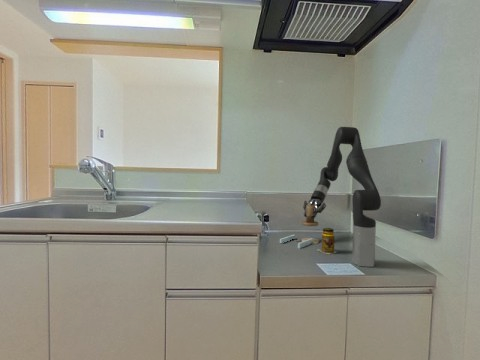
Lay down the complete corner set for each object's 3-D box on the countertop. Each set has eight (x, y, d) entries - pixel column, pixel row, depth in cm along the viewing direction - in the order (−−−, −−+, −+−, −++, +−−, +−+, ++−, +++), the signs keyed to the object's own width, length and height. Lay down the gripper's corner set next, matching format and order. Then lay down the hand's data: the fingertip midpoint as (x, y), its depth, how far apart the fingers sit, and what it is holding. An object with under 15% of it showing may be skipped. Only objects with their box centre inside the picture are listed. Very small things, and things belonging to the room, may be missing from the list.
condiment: (328, 254, 135) (328, 230, 134) (315, 250, 142) (315, 227, 142) (338, 252, 139) (338, 229, 138) (325, 248, 146) (325, 225, 145)
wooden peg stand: (319, 226, 153) (319, 206, 152) (303, 226, 154) (303, 206, 153) (316, 222, 162) (316, 204, 161) (301, 222, 163) (301, 204, 162)
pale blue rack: (293, 238, 165) (293, 234, 164) (313, 242, 155) (313, 238, 155) (279, 243, 155) (279, 239, 155) (299, 248, 145) (299, 243, 145)
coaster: (320, 244, 153) (320, 243, 153) (301, 243, 154) (301, 242, 154) (318, 239, 163) (318, 238, 162) (301, 238, 164) (301, 237, 164)
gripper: (306, 189, 167) (295, 211, 159) (328, 190, 157) (317, 214, 149) (311, 197, 171) (300, 218, 163) (332, 199, 161) (322, 222, 153)
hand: (308, 216), depth 156 cm, fingers closed on wooden peg stand, 4 cm apart
